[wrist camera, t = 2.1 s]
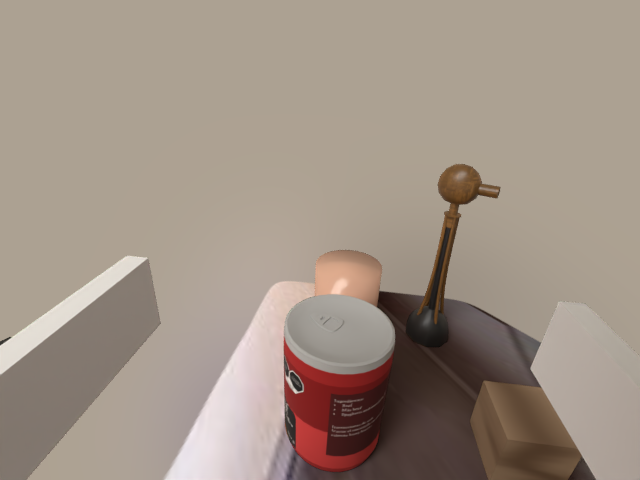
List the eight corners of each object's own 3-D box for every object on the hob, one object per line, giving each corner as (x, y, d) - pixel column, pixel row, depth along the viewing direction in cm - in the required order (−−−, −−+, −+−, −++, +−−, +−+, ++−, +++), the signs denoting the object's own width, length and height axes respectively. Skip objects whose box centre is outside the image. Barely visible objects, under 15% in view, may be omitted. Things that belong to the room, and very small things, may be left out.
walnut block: (529, 429, 29) (548, 388, 27) (559, 493, 24) (585, 449, 22) (469, 421, 29) (483, 380, 27) (488, 483, 25) (507, 439, 23)
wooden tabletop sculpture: (461, 334, 39) (508, 166, 31) (450, 357, 36) (500, 175, 27) (413, 315, 42) (444, 156, 34) (399, 334, 39) (429, 164, 30)
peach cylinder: (382, 326, 40) (391, 261, 36) (357, 362, 35) (365, 291, 31) (331, 306, 43) (335, 244, 40) (301, 337, 38) (303, 269, 34)
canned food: (305, 379, 33) (307, 284, 28) (386, 406, 30) (404, 307, 26) (267, 451, 26) (262, 344, 21) (366, 494, 24) (385, 382, 19)
